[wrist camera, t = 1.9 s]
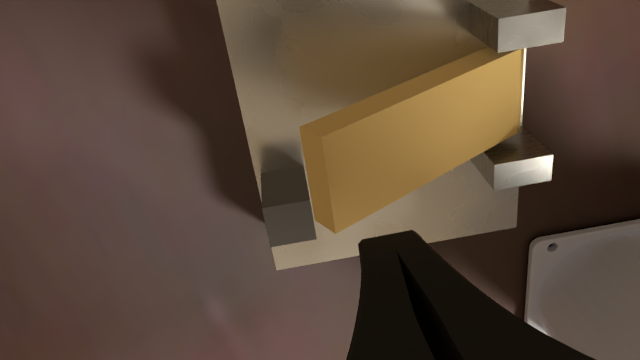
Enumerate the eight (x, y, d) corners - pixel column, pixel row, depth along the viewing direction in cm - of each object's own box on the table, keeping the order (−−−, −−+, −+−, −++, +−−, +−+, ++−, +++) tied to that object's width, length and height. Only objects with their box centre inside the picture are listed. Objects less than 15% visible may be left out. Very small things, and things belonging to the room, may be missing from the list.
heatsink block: (496, -133, 19) (579, -136, 14) (488, 190, 25) (543, 263, 20) (205, -87, 18) (189, -75, 14) (273, 228, 25) (279, 311, 20)
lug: (303, 166, 20) (310, 200, 18) (310, 202, 21) (316, 239, 19) (260, 173, 20) (261, 208, 18) (268, 210, 21) (270, 247, 19)
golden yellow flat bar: (504, 39, 18) (530, 44, 18) (502, 120, 20) (525, 128, 19) (299, 127, 14) (321, 137, 14) (314, 220, 16) (335, 233, 15)
